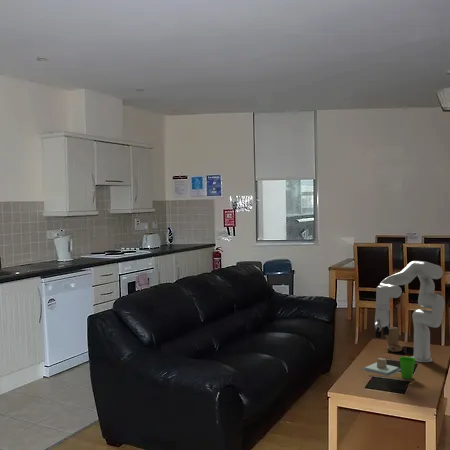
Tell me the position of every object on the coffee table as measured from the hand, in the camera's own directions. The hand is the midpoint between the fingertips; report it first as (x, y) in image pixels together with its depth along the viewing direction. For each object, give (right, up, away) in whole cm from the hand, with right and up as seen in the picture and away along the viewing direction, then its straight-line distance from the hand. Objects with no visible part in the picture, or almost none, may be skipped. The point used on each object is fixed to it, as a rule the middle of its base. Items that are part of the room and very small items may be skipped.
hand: (382, 336), depth 307 cm
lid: (0, -20, +1) cm, 20 cm away
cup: (+10, -21, -14) cm, 27 cm away
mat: (0, -20, +1) cm, 20 cm away
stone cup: (+21, -19, +48) cm, 56 cm away
